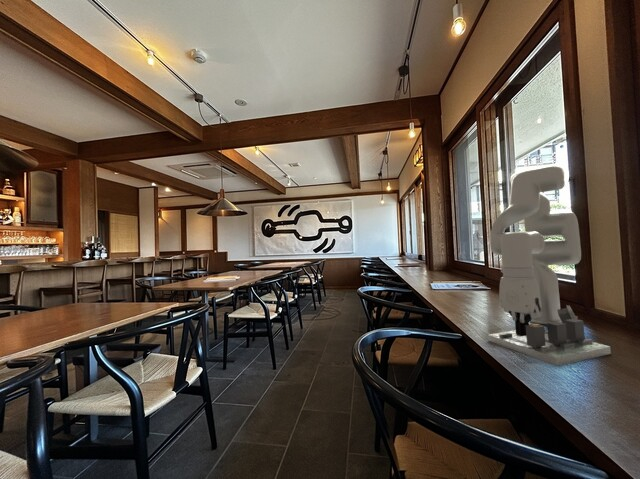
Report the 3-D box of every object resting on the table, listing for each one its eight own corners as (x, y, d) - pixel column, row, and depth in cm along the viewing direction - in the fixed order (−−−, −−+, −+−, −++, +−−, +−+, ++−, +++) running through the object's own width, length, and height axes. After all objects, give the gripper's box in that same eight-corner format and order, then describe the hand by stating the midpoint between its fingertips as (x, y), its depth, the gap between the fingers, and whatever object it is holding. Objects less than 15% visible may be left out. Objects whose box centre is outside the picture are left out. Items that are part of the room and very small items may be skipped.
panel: (534, 332, 96) (533, 324, 96) (610, 353, 76) (609, 342, 76) (488, 340, 91) (487, 331, 91) (557, 365, 71) (556, 353, 71)
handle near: (574, 337, 83) (573, 318, 83) (584, 339, 81) (583, 320, 81) (566, 338, 82) (564, 320, 82) (576, 341, 80) (574, 322, 80)
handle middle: (557, 340, 81) (555, 321, 81) (567, 343, 79) (565, 323, 79) (548, 342, 80) (547, 322, 81) (558, 344, 78) (556, 325, 78)
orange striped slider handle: (536, 342, 80) (534, 323, 81) (545, 345, 78) (543, 325, 78) (526, 344, 79) (525, 324, 80) (536, 347, 77) (534, 326, 77)
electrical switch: (585, 340, 87) (578, 310, 88) (563, 339, 90) (557, 310, 91) (581, 332, 94) (575, 305, 95) (562, 331, 97) (556, 305, 98)
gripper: (487, 272, 89) (491, 329, 89) (533, 276, 75) (538, 344, 74) (505, 270, 91) (509, 326, 91) (553, 274, 77) (559, 340, 76)
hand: (522, 334), depth 82 cm, fingers closed
